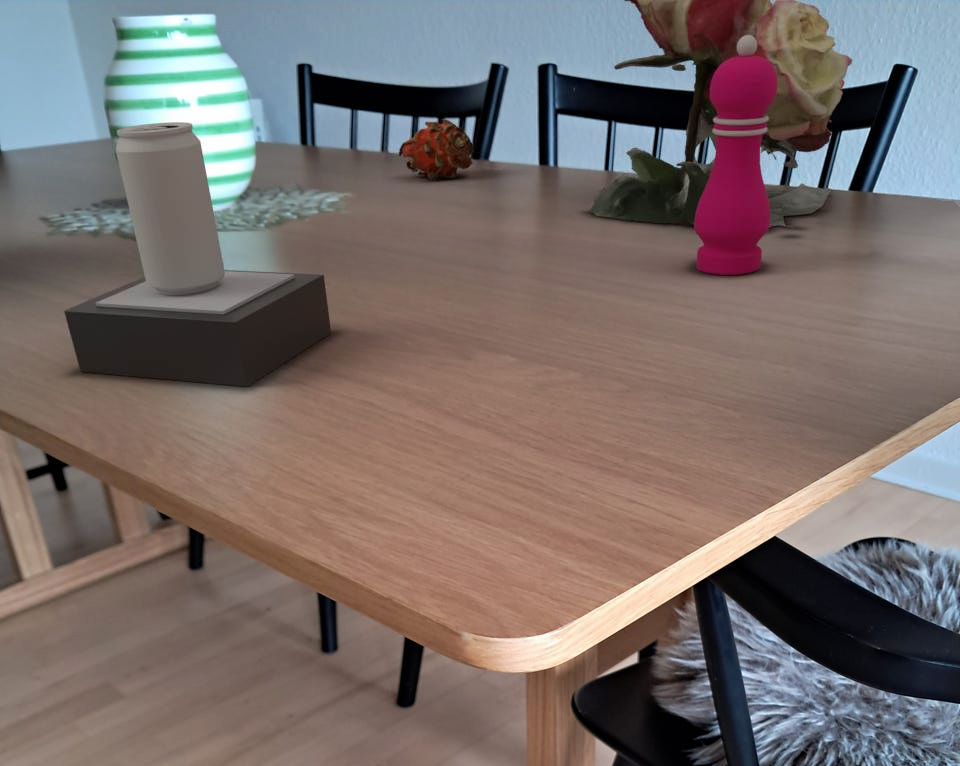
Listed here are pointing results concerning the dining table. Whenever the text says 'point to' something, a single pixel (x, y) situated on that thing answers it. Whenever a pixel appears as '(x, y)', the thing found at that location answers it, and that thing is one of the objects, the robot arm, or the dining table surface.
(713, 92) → the pepper mill
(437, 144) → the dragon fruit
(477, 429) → the dining table surface
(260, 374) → the cup warmer
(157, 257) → the beverage can
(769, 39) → the rose bouquet
